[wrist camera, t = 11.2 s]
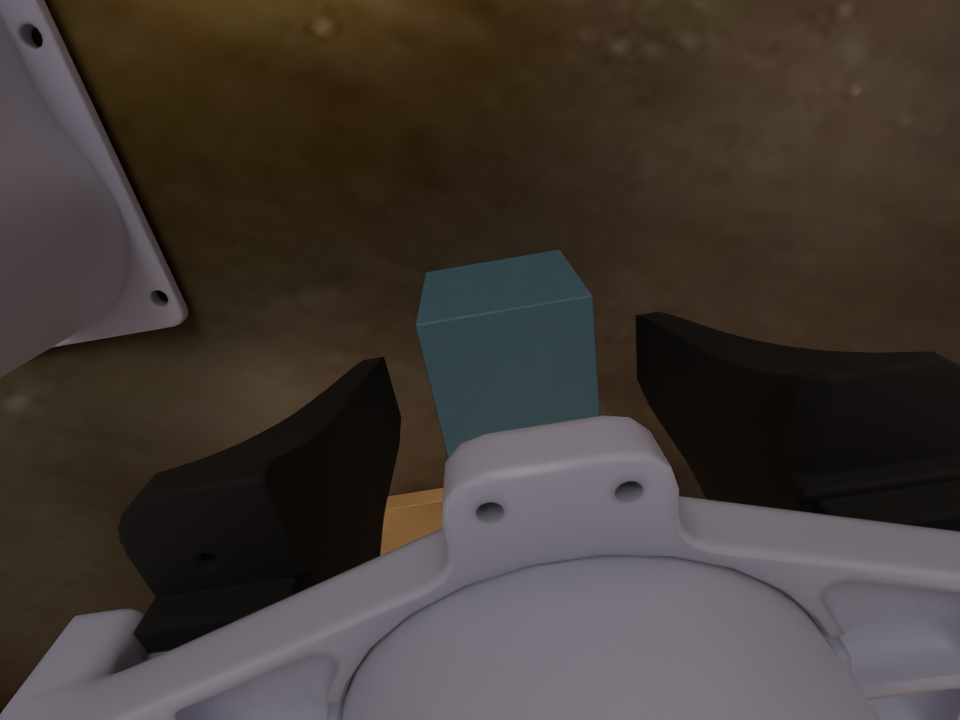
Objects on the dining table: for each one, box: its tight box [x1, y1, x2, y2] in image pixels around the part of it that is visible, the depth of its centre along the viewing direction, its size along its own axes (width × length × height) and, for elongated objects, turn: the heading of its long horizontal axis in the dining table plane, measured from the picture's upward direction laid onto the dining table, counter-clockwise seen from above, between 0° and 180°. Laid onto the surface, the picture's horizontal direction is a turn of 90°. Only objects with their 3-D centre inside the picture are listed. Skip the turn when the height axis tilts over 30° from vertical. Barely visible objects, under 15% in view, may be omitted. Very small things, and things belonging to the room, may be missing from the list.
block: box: [416, 250, 600, 458], centre depth 15 cm, size 4×4×4 cm
